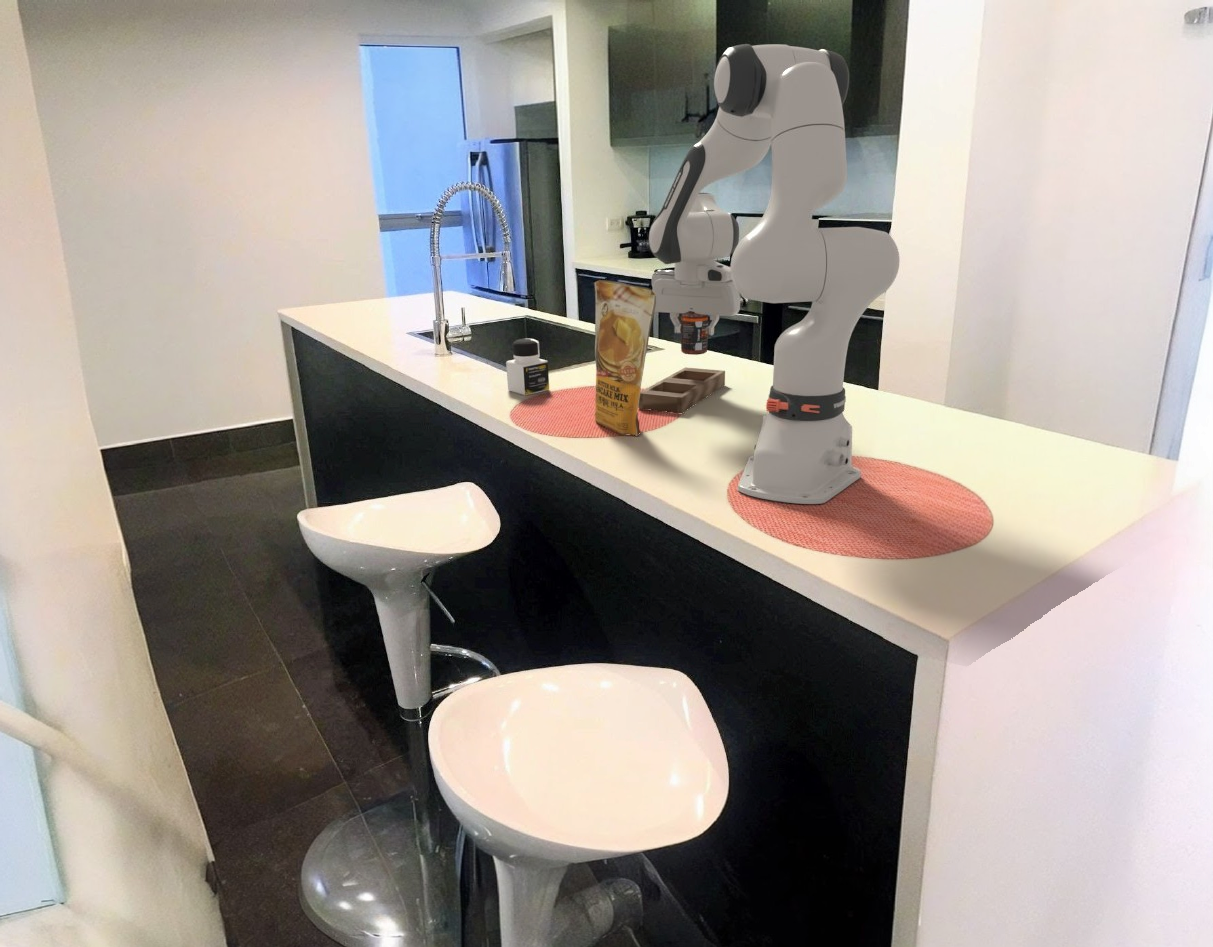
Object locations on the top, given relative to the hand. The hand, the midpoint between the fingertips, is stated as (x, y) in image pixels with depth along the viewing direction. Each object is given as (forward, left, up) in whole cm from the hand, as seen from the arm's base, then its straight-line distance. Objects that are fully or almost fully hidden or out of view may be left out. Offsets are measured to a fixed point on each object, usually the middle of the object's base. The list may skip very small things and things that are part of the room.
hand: (694, 333), depth 187 cm
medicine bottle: (-14, +36, -13) cm, 41 cm away
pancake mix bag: (-32, +3, -13) cm, 34 cm away
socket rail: (-6, 0, -13) cm, 14 cm away
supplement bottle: (0, 0, -5) cm, 5 cm away
